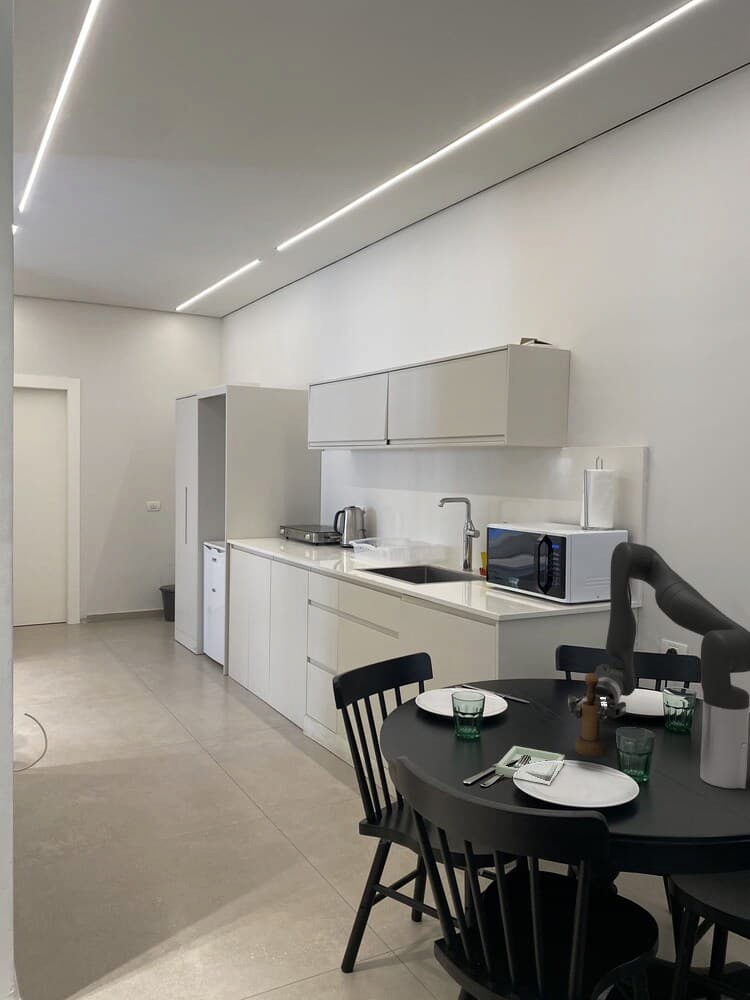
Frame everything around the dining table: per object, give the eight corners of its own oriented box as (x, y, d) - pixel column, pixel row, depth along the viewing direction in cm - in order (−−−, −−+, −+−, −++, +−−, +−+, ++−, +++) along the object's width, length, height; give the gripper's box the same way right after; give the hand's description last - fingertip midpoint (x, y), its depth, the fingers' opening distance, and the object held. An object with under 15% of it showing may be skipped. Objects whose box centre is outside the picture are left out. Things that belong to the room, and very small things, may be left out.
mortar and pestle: (569, 751, 184) (571, 673, 183) (583, 744, 189) (585, 668, 188) (596, 758, 180) (598, 678, 179) (610, 751, 185) (612, 673, 184)
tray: (564, 763, 185) (564, 754, 185) (549, 785, 173) (549, 776, 173) (513, 754, 191) (514, 745, 191) (495, 774, 178) (495, 765, 178)
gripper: (573, 677, 200) (557, 694, 184) (633, 684, 193) (621, 703, 178) (573, 706, 200) (556, 727, 185) (632, 715, 194) (620, 737, 178)
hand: (588, 715), depth 181 cm, fingers closed on mortar and pestle, 4 cm apart
